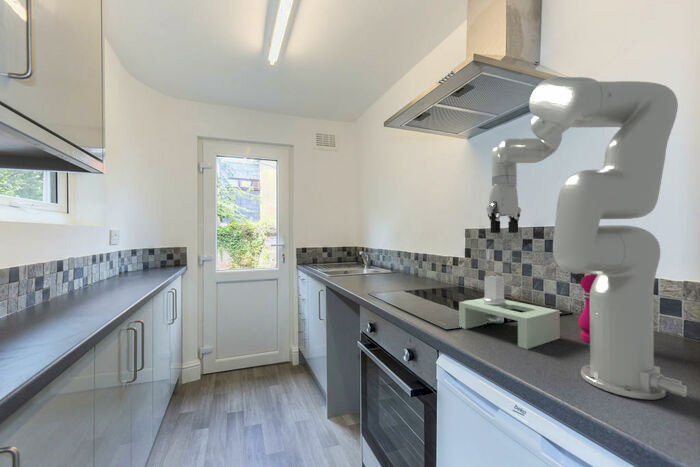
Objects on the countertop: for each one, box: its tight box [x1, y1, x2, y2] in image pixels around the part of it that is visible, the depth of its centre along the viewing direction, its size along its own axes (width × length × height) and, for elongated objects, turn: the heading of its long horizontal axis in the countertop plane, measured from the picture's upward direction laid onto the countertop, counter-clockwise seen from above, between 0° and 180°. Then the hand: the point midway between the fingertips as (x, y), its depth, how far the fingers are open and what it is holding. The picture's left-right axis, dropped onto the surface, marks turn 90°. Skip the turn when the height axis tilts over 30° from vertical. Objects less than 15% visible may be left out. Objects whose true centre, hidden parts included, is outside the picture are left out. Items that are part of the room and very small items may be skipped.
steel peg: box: [482, 275, 507, 324], centre depth 96 cm, size 6×6×14 cm
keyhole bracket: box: [458, 297, 561, 350], centre depth 93 cm, size 22×16×8 cm
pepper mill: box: [578, 274, 598, 344], centre depth 85 cm, size 7×7×20 cm
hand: (504, 232), depth 104 cm, fingers open, 9 cm apart
